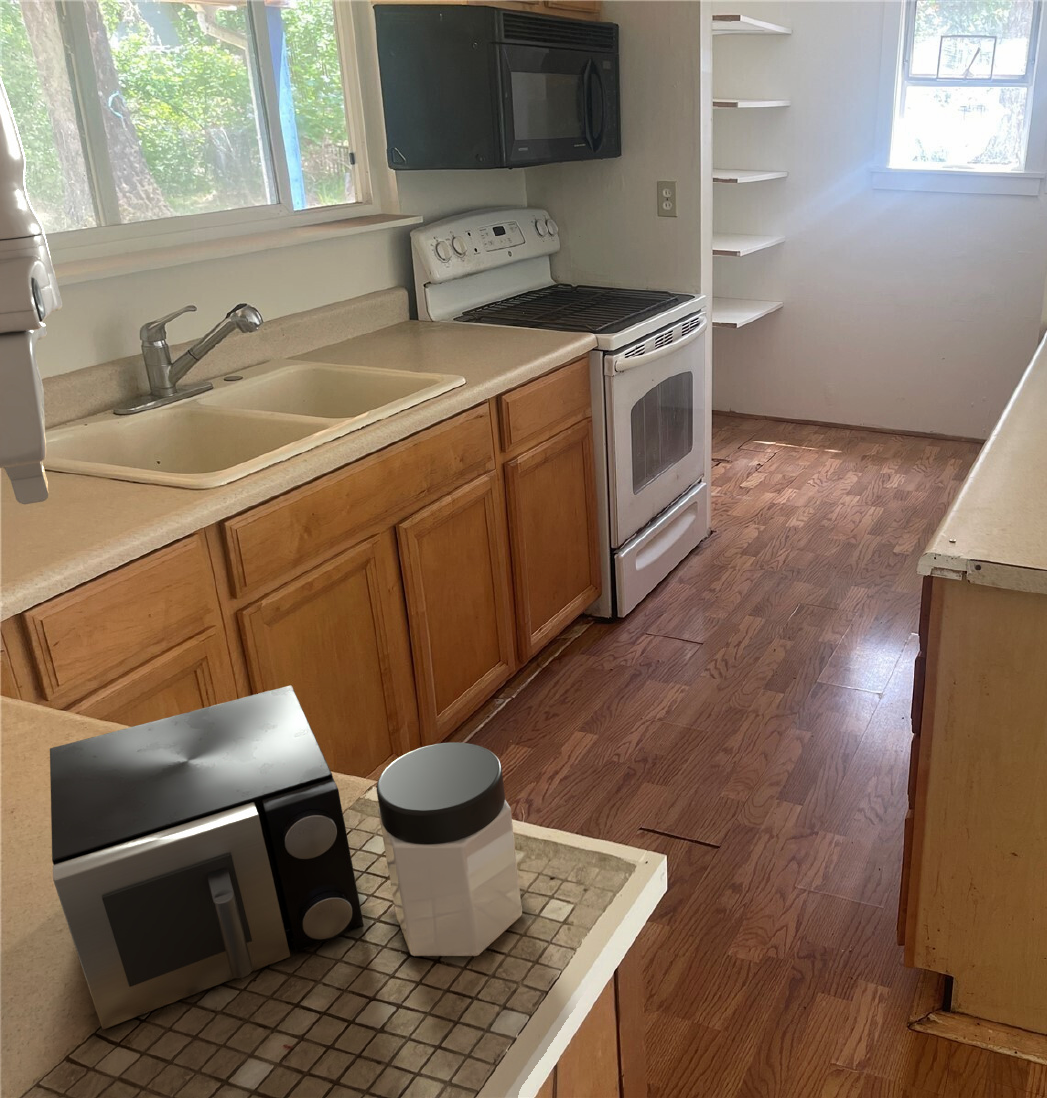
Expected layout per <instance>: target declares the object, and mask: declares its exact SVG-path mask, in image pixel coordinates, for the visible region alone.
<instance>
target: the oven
mask: <svg viewBox="0 0 1047 1098" xmlns="http://www.w3.org/2000/svg"><path fill="white" fill-rule="evenodd" d="M49 774H50V779H49V780H50V783H49V784H50V826H51V827H50V828H51V829H50V830H51V861H52V864H53V865H55V864H58V863H61V862H65V861H68V860H71V859H74V858H77V857H80V856H84V855H87V854H90V853H93V852H96V851H100V850H103V849H106V848H109V847H112V846H115V845H119V844H122V843H125V842H128V841H131V840H135V839H138V838H141V837H144V836H147V835H150V834H154V833H157V832H160V831H163V830H166V829H170V828H173V827H176V826H179V825H182V824H185V823H189V822H192V821H195V820H198V819H201V818H205V817H208V816H211V815H214V814H217V813H220V812H224V811H227V810H230V809H233V808H236V807H240V806H243V805H246V804H249V803H252V802H254V803H255V806H256V809H257V812H258V814H259V819H260V823H261V828H262V832H263V836H264V841H265V845H266V850H267V854H268V858H269V863H270V867H271V872H272V876H273V881H274V885H275V889H276V894H277V898H278V903H279V907H280V911H281V916H282V920H283V925H284V929H285V933H286V938H287V942H288V943H289V942H290V941H292V943H293V946H294V949H295V952H296V953H299V952H301V951H304V950H306V949H309V948H312V947H314V946H317V945H319V944H322V943H325V942H327V941H329V940H333V939H335V938H337V937H340V936H343V935H346V934H348V933H351V932H353V931H356V930H358V929H361V928H364V927H365V924H364V918H363V913H362V908H361V901H360V897H359V891H358V887H357V882H356V875H355V870H354V865H353V861H352V856H351V855H352V854H351V850H350V844H349V839H348V834H347V829H346V828H347V827H346V823H345V818H344V813H343V808H342V801H341V796H340V790H339V788H338V785H337V783H336V781H335V778H334V776H333V772H332V771H331V768H330V766H329V763H328V762H327V760H326V758H325V756H324V754H323V751H322V748H321V747H320V744H319V742H318V740H317V738H316V736H315V733H314V731H313V730H312V727H311V725H310V723H309V721H308V718H307V716H306V714H305V711H304V709H303V707H302V705H301V702H300V701H299V698H298V697H297V694H296V692H295V690H294V687H293V686H292V684H291V685H287V686H283V687H280V688H276V689H272V690H267V691H264V692H260V693H258V694H257V693H256V694H252V695H248V696H245V697H241V698H237V699H233V700H230V701H226V702H222V703H218V704H214V705H211V706H207V707H203V708H199V709H195V710H191V711H188V712H184V713H180V714H176V715H172V716H169V717H164V718H160V719H157V720H152V721H149V722H145V723H141V724H138V725H134V726H130V727H126V728H123V729H119V730H115V731H111V732H107V733H103V734H100V735H96V736H92V737H87V738H84V739H80V740H77V741H72V742H68V743H66V744H61V745H57V746H54V747H50V748H49ZM53 865H52V866H53Z"/></svg>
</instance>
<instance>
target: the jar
mask: <svg viewBox="0 0 1047 1098" xmlns="http://www.w3.org/2000/svg"><path fill="white" fill-rule="evenodd" d="M504 783H505V782H504V775H503V767H502V763H501V761H500V759H499V758H498V756H497V755H496V753H493V752H492V751H491V750H489V749H488V748H486V747H483V746H481V745H478V744H474V743H469V742H442V743H441V742H440V743H435V744H430V745H426V746H422V747H419V748H417V749H414V750H411V751H409V752H407V753H405V754H403V755H401V756H399V757H397V759H395V760H394V761H392V762H391V763H390V764H389V765H388V766H387V767H386V768H385V769H384V770H383V771H382V772H381V774H380V776H379V778H378V780H377V782H376V796H377V797H376V798H377V802H378V809H377V812H378V818H379V823H380V829H381V834H382V835H381V836H382V840H383V847H384V853H385V859H386V864H387V871H388V876H389V882H390V883H389V884H390V888H391V893H392V899H393V905H394V911H395V916H396V919H397V921H398V924H399V926H400V930H401V932H402V935H403V938H404V940H405V943H406V946H407V949H408V951H409V954H410V955H411V956H412V957H477V956H479V955H481V954H482V953H483V952H484V951H485V950H486V949H487V948H488V947H489V946H491V944H492V943H494V942H495V941H496V940H497V939H498V938H499V937H500V936H501V935H502V934H504V933H505V932H506V931H507V930H508V929H509V928H510V927H511V926H512V925H513V924H514V923H515V922H517V920H518V919H520V918H521V916H522V915H523V908H522V899H521V888H520V881H519V871H518V864H517V862H518V861H517V854H516V853H517V852H516V845H515V844H516V843H515V835H514V834H515V833H514V826H513V818H512V808H511V806H510V805H509V802H508V801H507V799H506V792H505V784H504Z"/></svg>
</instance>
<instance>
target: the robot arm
mask: <svg viewBox="0 0 1047 1098" xmlns="http://www.w3.org/2000/svg"><path fill="white" fill-rule="evenodd" d="M25 156H26V155H25V152H24V149H23V145H22V140H21V137H20V134H19V130H18V126H17V124H16V120H15V117H14V114H13V110H12V108H11V105H10V101H9V98H8V94H7V91H6V89H5V86H4V84H3V80H2V78H1V77H0V469H4V470H5V471H4V472H5V473H6V474H7V477H8V479H9V480H10V484H11V487H12V490H13V493H14V498H15V499H16V502H17V503H19V504H21V505H31V504H36V503H43V502H45V501H47V499H48V498H49V482H48V478H47V475H46V471H45V468H44V467H45V466H44V463H43V461H44V460H45V459H46V457H47V439H46V418H45V416H46V415H45V390H44V389H45V388H44V384H43V379H42V375H41V372H40V368H39V365H38V362H37V357H36V345H37V342H38V340H41V339H43V338H46V336H47V335H48V331H47V328H46V324H45V323H44V322H45V320H46V318H48V317H49V315H51V314H52V313H54V312H56V311H59V310H61V309H62V308H63V306H64V305H63V300H62V296H61V293H60V292H61V291H60V288H59V285H58V281H57V278H56V273H55V269H54V265H53V261H52V257H51V254H50V249H49V246H48V243H47V242H48V241H47V239H46V238H47V237H46V233H45V230H44V227H43V224H42V222H41V221H40V219H39V217H38V215H37V214H36V212H35V211H34V209H33V207H32V205H31V202H30V200H29V197H28V193H27V189H26V182H25V181H26V180H25V178H26V177H25V175H26V174H25V172H26V157H25Z"/></svg>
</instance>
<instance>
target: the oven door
mask: <svg viewBox="0 0 1047 1098" xmlns="http://www.w3.org/2000/svg"><path fill="white" fill-rule="evenodd" d="M52 880H53V884H54V888H55V890H56V893H57V896H58V900H59V902H60V906H61V909H62V911H63V914H64V917H65V920H66V923H67V926H68V929H69V932H70V936H71V939H72V941H73V945H74V947H75V950H76V954H77V956H78V960H79V963H80V965H81V969H82V972H83V974H84V978H85V981H86V985H87V987H88V990H89V993H90V996H91V999H92V1002H93V1006H94V1008H95V1011H96V1014H97V1017H98V1020H99V1023H100V1026H101V1029H102V1030H106V1029H109V1028H112V1027H114V1026H116V1025H119V1024H121V1023H124V1022H126V1021H129V1020H132V1019H134V1018H136V1017H137V1018H138V1017H139V1016H143V1015H144V1014H147V1013H150V1012H152V1011H154V1010H155V1011H156V1010H157V1009H160V1008H162V1007H164V1006H168V1005H170V1004H173V1003H175V1002H177V1001H180V1000H183V999H186V998H189V997H191V996H193V995H195V994H199V993H200V992H203V991H206V990H209V989H211V988H214V987H216V986H219V985H221V984H224V983H227V982H230V981H232V980H234V979H243V978H246V977H248V976H249V975H250V974H251V973H252V972H254V971H257V970H260V969H262V968H265V967H267V966H270V965H273V964H275V963H277V962H280V961H283V960H285V959H288V958H290V957H291V952H290V948H289V941H288V942H287V938H286V933H285V929H284V925H283V920H282V916H281V911H280V907H279V903H278V898H277V894H276V889H275V885H274V881H273V876H272V872H271V867H270V863H269V858H268V854H267V850H266V845H265V841H264V836H263V832H262V828H261V823H260V819H259V814H258V812H257V809H256V806H255V803H254V802H252V803H249V804H246V805H243V806H240V807H236V808H233V809H230V810H227V811H224V812H220V813H217V814H214V815H211V816H208V817H205V818H201V819H198V820H195V821H192V822H189V823H185V824H182V825H179V826H176V827H173V828H170V829H166V830H163V831H160V832H157V833H154V834H150V835H147V836H144V837H141V838H138V839H135V840H131V841H128V842H125V843H122V844H119V845H115V846H112V847H109V848H106V849H103V850H100V851H96V852H93V853H90V854H87V855H84V856H80V857H77V858H74V859H71V860H68V861H65V862H61V863H58V864H55V865H52Z"/></svg>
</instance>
